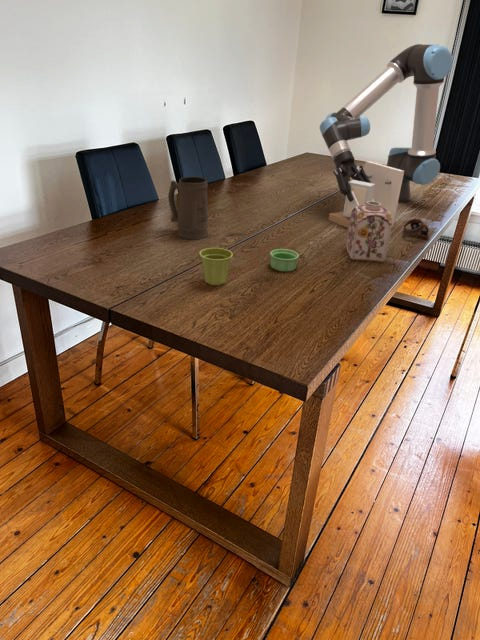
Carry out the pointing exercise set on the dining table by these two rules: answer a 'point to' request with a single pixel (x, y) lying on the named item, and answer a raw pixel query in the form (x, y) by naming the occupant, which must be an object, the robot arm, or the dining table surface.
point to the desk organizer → (379, 190)
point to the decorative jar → (369, 232)
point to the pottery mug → (415, 228)
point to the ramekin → (284, 259)
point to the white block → (359, 195)
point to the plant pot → (215, 264)
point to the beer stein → (190, 207)
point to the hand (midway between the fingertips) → (364, 206)
